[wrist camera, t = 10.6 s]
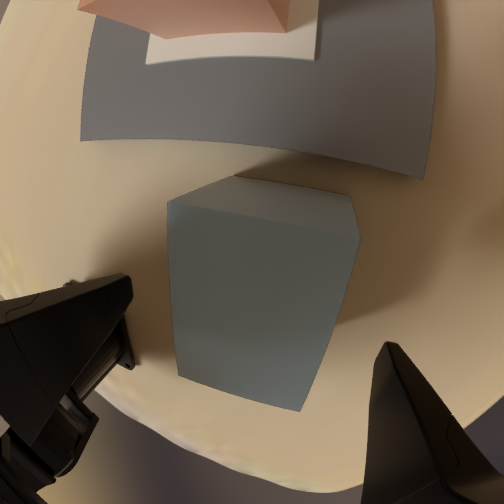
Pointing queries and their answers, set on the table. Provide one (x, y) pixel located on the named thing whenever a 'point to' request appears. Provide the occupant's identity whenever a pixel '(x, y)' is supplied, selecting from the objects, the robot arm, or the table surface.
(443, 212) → the table surface
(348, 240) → the brick
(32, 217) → the table surface
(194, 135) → the baseplate
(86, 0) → the brick
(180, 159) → the table surface
